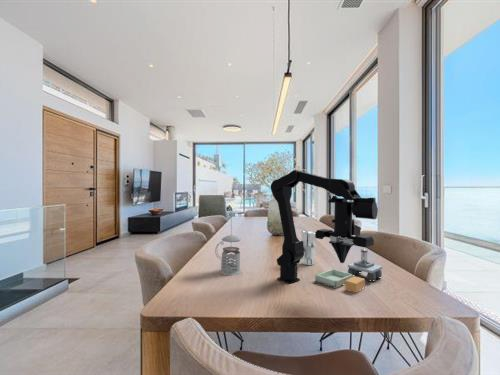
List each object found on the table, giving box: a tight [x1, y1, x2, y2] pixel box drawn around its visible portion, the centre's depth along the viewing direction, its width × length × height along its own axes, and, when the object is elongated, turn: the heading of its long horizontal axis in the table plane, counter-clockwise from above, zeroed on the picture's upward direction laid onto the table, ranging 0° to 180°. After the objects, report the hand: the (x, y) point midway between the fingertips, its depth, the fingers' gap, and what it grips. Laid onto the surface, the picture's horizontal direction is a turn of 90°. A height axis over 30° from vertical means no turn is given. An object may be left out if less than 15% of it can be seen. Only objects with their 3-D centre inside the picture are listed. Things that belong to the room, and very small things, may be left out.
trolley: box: [347, 259, 383, 282], centre depth 109 cm, size 9×10×6 cm
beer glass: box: [300, 230, 317, 266], centre depth 127 cm, size 7×7×15 cm
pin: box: [360, 248, 369, 265], centre depth 110 cm, size 2×2×6 cm
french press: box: [214, 212, 243, 276], centre depth 114 cm, size 10×12×25 cm
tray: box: [314, 268, 354, 289], centre depth 104 cm, size 12×9×2 cm
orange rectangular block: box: [344, 275, 366, 293], centre depth 96 cm, size 7×4×4 cm, turn 134°
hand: (342, 262), depth 91 cm, fingers closed
